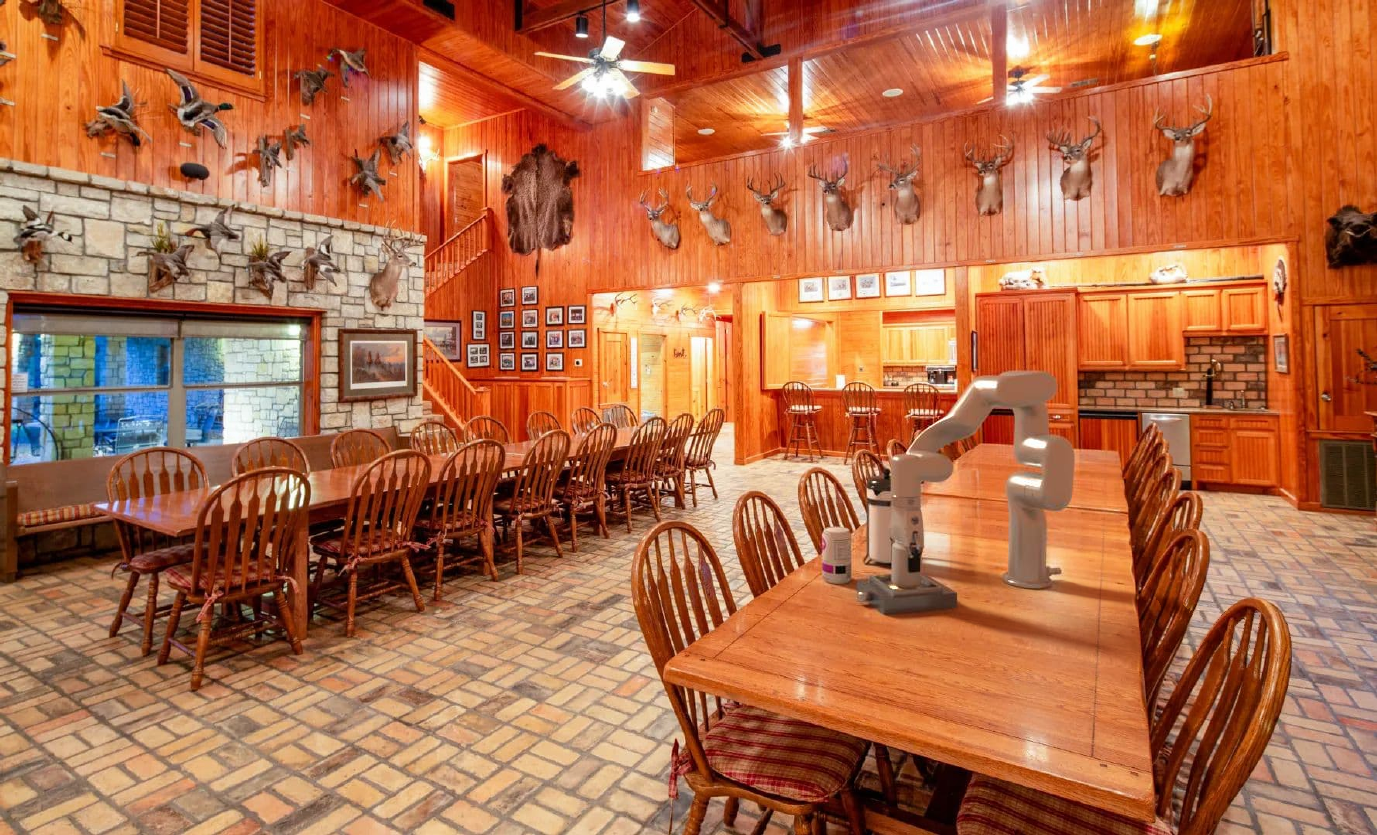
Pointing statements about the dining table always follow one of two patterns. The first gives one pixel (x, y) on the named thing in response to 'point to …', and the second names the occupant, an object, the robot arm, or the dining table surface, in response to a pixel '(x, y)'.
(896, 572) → the can
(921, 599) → the gearbox
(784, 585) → the dining table surface
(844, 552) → the supplement can
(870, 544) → the coffee press
